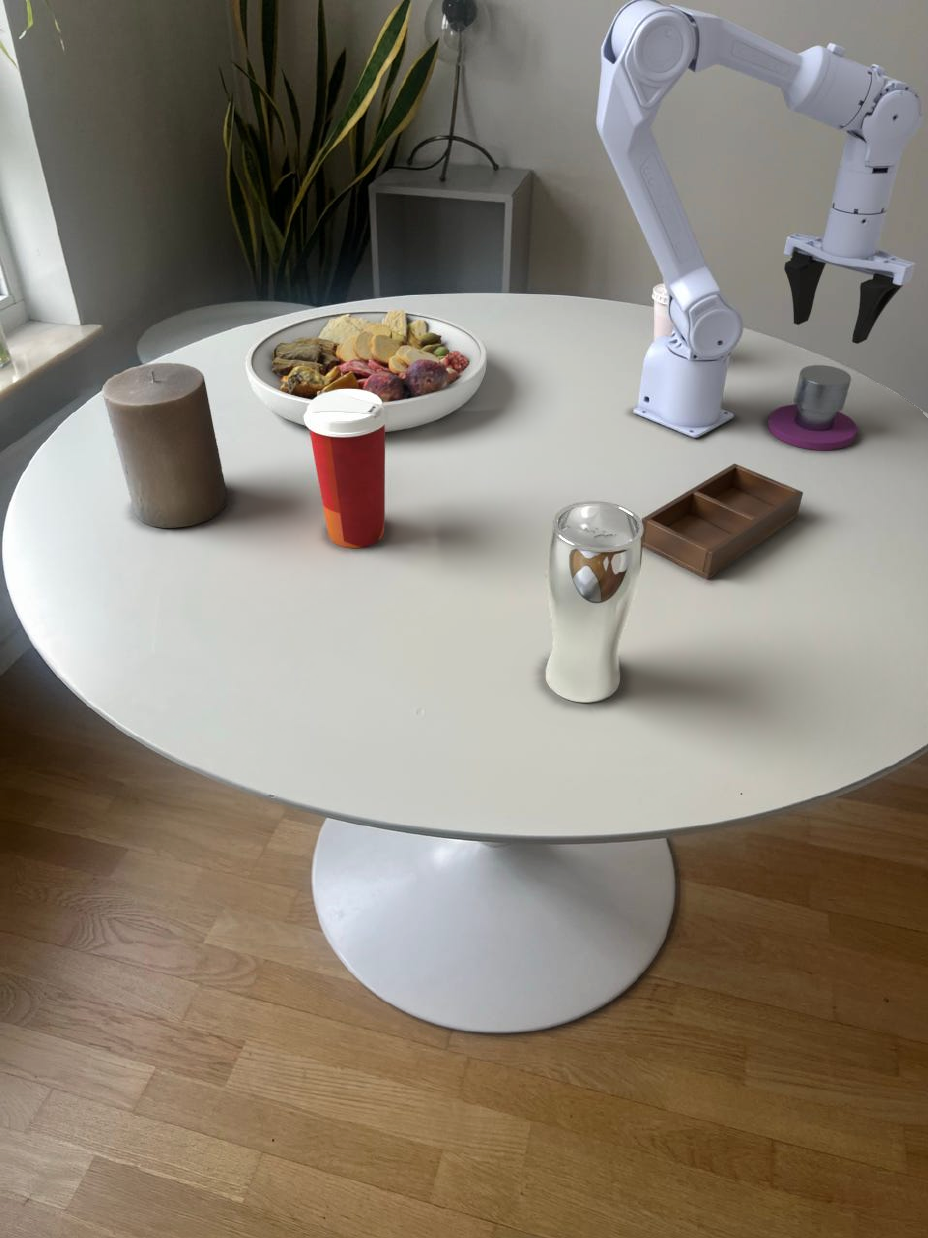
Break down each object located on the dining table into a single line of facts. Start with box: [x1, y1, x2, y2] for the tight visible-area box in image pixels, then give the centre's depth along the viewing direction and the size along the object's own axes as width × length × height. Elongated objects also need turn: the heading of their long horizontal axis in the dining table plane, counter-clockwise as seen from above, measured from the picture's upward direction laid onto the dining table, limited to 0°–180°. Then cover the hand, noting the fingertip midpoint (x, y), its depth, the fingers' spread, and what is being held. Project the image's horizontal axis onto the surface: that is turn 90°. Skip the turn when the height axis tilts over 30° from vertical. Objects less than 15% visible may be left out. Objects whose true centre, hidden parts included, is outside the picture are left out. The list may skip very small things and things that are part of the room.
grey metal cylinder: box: [793, 364, 852, 431], centre depth 108 cm, size 6×6×6 cm
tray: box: [641, 463, 804, 580], centre depth 93 cm, size 8×16×3 cm, turn 133°
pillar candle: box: [101, 362, 228, 529], centre depth 93 cm, size 10×10×15 cm
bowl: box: [245, 309, 488, 433], centre depth 117 cm, size 30×30×8 cm
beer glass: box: [545, 500, 644, 704], centre depth 72 cm, size 7×7×15 cm
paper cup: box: [304, 389, 388, 549], centre depth 89 cm, size 8×8×14 cm
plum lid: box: [767, 403, 858, 451], centre depth 111 cm, size 10×10×1 cm
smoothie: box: [651, 282, 675, 342], centre depth 122 cm, size 6×6×14 cm
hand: (829, 331), depth 108 cm, fingers open, 7 cm apart
